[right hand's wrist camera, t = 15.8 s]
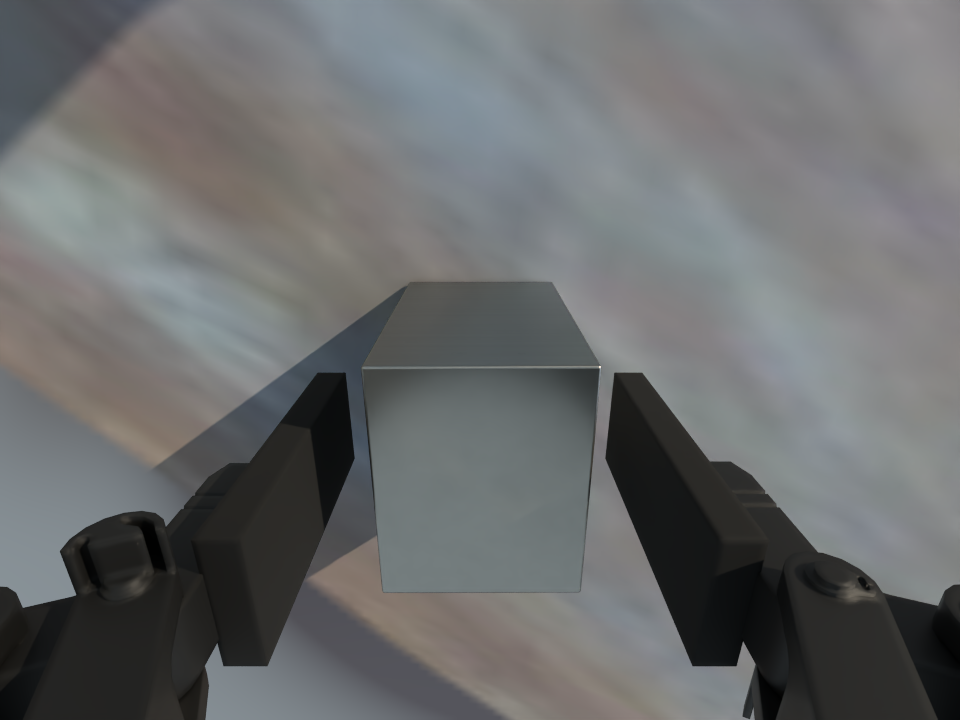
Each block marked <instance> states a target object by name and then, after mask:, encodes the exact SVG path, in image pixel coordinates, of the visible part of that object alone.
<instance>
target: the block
mask: <svg viewBox="0 0 960 720" xmlns="http://www.w3.org/2000/svg"><path fill="white" fill-rule="evenodd" d="M361 372H362V383H363V393H364V404H365V414H366V425H367V435H368V445H369V456H370V466H371V477H372V487H373V498H374V508H375V518H376V529H377V539H378V550H379V560H380V571H381V581H382V590H383V592H384V593H514V592H580V591H581V582H582V571H583V560H584V549H585V539H586V528H587V517H588V506H589V496H590V485H591V474H592V463H593V452H594V442H595V431H596V420H597V409H598V399H599V388H600V377H601V366H600V364H599V362H598V360H597V359H596V357H595V355H594V354H593V352H592V350H591V348H590V347H589V345H588V343H587V342H586V340H585V338H584V336H583V335H582V333H581V331H580V329H579V328H578V326H577V324H576V323H575V321H574V319H573V317H572V316H571V314H570V312H569V311H568V309H567V307H566V305H565V304H564V302H563V300H562V299H561V297H560V295H559V293H558V292H557V290H556V288H555V287H554V285H553V283H552V282H410V283H409V284H408V286H407V288H406V290H405V291H404V293H403V295H402V297H401V298H400V300H399V302H398V304H397V305H396V307H395V309H394V311H393V312H392V314H391V316H390V318H389V319H388V321H387V323H386V325H385V326H384V328H383V330H382V332H381V333H380V335H379V337H378V339H377V341H376V342H375V344H374V346H373V348H372V349H371V351H370V353H369V355H368V356H367V358H366V360H365V362H364V363H363V365H362V367H361Z"/></svg>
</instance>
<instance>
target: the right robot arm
mask: <svg viewBox="0 0 960 720" xmlns="http://www.w3.org/2000/svg"><path fill="white" fill-rule="evenodd" d="M354 459H355V458H354V448H353V439H352V429H351V420H350V410H349V401H348V391H347V382H346V373H317V375H316V376H315V377H314V378H313V380H312V381H311V382H310V384H309V385H308V386H307V388H306V389H305V390H304V392H303V393H302V394H301V396H300V397H299V398H298V400H297V401H296V402H295V403H294V405H293V406H292V407H291V409H290V410H289V411H288V413H287V414H286V415H285V417H284V418H283V419H282V421H281V422H280V423H279V424H278V426H277V427H276V428H275V430H274V431H273V432H272V434H271V435H270V436H269V438H268V439H267V440H266V442H265V443H264V444H263V446H262V447H261V448H260V449H259V451H258V452H257V453H256V455H255V456H254V457H253V459H252V460H251V461H250V463H230V464H228V465H226V466H225V467H223V468H222V469H220V470H219V471H217V472H216V473H214V474H213V475H211V476H209V477H208V479H207V480H206V481H205V482H204V483H203V484H202V486H201V487H200V488H199V489H198V490H197V491H196V493H195V496H192V497H191V498H190V500H189V501H188V502H187V503H186V504H185V505H184V509H181V510H180V511H179V512H178V514H177V515H176V516H175V517H174V518H173V519H172V521H171V522H170V523H169V524H168V525H167V526H165V523H164V519H162V518H161V517H160V516H159V515H157V514H156V513H151V512H145V511H137V512H128V513H122V514H119V515H115V516H112V517H109V518H105V519H103V520H101V521H99V522H97V523H94V524H92V525H90V526H88V527H86V528H85V529H83V530H82V531H80V532H79V533H78V534H76V535H75V536H73V537H72V538H71V539H70V540H69V541H68V542H67V543H66V544H65V546H64V547H63V548H62V549H61V550H60V553H61V556H62V558H63V561H64V563H65V566H66V568H67V571H68V574H69V577H70V579H71V582H72V584H73V587H74V590H75V592H76V596H73V597H69V598H65V599H60V600H56V601H51V602H47V603H43V604H38V605H34V606H30V607H25V608H23V607H22V605H21V603H20V601H19V598H18V596H17V594H16V593H15V592H14V591H12V590H11V589H9V588H8V587H0V720H205V717H206V708H207V698H208V689H209V684H208V678H207V672H206V669H205V664H206V663H207V661H208V659H209V657H210V655H211V653H212V652H213V650H214V648H215V646H216V644H217V643H218V647H219V651H220V654H221V658H222V662H223V666H268V663H269V661H270V659H271V656H272V654H273V652H274V649H275V647H276V644H277V642H278V640H279V637H280V635H281V632H282V630H283V628H284V625H285V623H286V620H287V618H288V616H289V613H290V611H291V609H292V606H293V604H294V602H295V599H296V597H297V594H298V592H299V590H300V587H301V585H302V582H303V580H304V578H305V575H306V573H307V571H308V568H309V566H310V563H311V561H312V559H313V556H314V554H315V551H316V549H317V547H318V544H319V542H320V540H321V537H322V535H323V532H324V530H325V528H326V525H327V523H328V521H329V518H330V516H331V513H332V511H333V509H334V506H335V504H336V501H337V499H338V497H339V494H340V492H341V490H342V487H343V485H344V482H345V480H346V478H347V475H348V473H349V471H350V468H351V466H352V463H353V461H354ZM605 459H606V461H607V463H608V466H609V468H610V470H611V473H612V475H613V478H614V480H615V482H616V485H617V487H618V490H619V492H620V494H621V497H622V499H623V501H624V504H625V506H626V509H627V511H628V513H629V516H630V518H631V521H632V523H633V525H634V528H635V530H636V532H637V535H638V537H639V540H640V542H641V544H642V547H643V549H644V551H645V554H646V556H647V559H648V561H649V563H650V566H651V568H652V571H653V573H654V575H655V578H656V580H657V582H658V585H659V587H660V590H661V592H662V594H663V597H664V599H665V602H666V604H667V606H668V609H669V611H670V613H671V616H672V618H673V621H674V623H675V625H676V628H677V630H678V632H679V635H680V637H681V640H682V642H683V644H684V647H685V649H686V652H687V654H688V656H689V659H690V661H691V663H692V666H737V662H738V658H739V654H740V651H741V647H742V643H743V642H744V643H745V645H746V647H747V649H748V651H749V653H750V654H751V656H752V658H753V660H754V662H755V664H756V665H755V669H754V672H753V676H752V679H751V683H750V687H749V690H748V694H747V697H746V701H745V704H744V710H743V717H745V718H748V719H750V717H751V713H752V710H753V707H754V716H755V720H960V585H953V586H951V587H950V588H948V589H947V590H945V592H944V594H943V596H942V598H941V601H940V603H939V605H938V606H936V605H932V604H927V603H923V602H918V601H914V600H910V599H905V598H901V597H897V596H892V595H888V594H885V593H882V591H881V590H880V588H879V587H878V585H877V584H876V583H875V581H874V580H872V579H871V578H870V577H869V576H868V575H866V574H865V573H864V572H863V571H862V570H860V569H859V568H857V567H855V566H853V565H851V564H850V563H848V562H846V561H844V560H842V559H839V558H836V557H833V556H830V555H827V554H824V553H818V552H817V551H816V550H815V548H814V547H813V546H812V545H811V544H810V543H809V541H808V540H807V539H806V538H805V537H804V536H803V535H802V533H801V532H800V531H799V530H798V529H797V528H796V526H795V525H794V524H793V523H792V522H791V521H790V519H789V518H788V517H787V516H786V515H785V514H784V512H783V511H782V510H781V509H780V508H777V506H776V503H775V502H774V501H773V500H772V498H771V497H770V496H769V495H768V494H765V490H764V489H763V488H762V487H761V486H760V485H759V483H758V482H757V481H756V480H755V479H754V478H753V476H752V475H750V474H749V473H747V472H746V471H744V470H743V469H741V468H740V467H738V466H736V465H735V464H733V463H732V462H710V461H709V460H708V459H707V457H706V456H705V455H704V453H703V452H702V451H701V449H700V448H699V447H698V446H697V444H696V443H695V442H694V440H693V439H692V438H691V436H690V435H689V434H688V432H687V431H686V430H685V428H684V427H683V426H682V424H681V423H680V422H679V421H678V419H677V418H676V417H675V415H674V414H673V413H672V411H671V410H670V409H669V407H668V406H667V405H666V403H665V402H664V401H663V400H662V398H661V397H660V396H659V394H658V393H657V392H656V390H655V389H654V388H653V386H652V385H651V384H650V382H649V381H648V380H647V378H646V377H645V376H644V375H643V373H614V382H613V392H612V401H611V411H610V420H609V429H608V439H607V448H606V458H605Z"/></svg>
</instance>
